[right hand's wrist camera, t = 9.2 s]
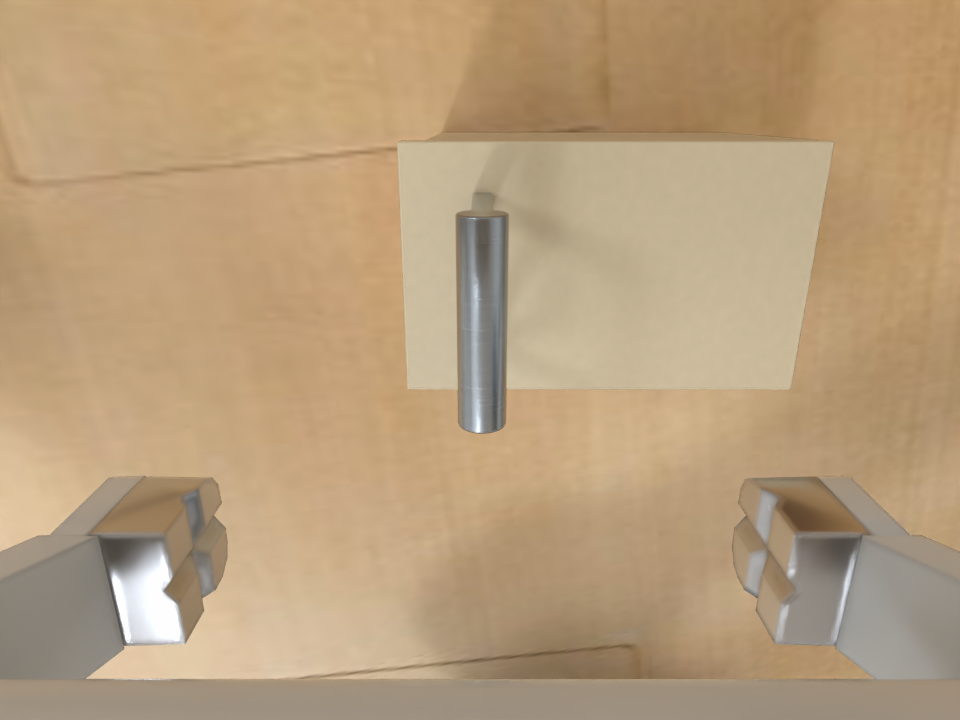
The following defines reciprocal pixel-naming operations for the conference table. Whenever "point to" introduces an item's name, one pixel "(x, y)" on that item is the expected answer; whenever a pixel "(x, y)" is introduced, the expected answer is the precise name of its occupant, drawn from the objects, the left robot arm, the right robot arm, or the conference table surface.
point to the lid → (605, 264)
